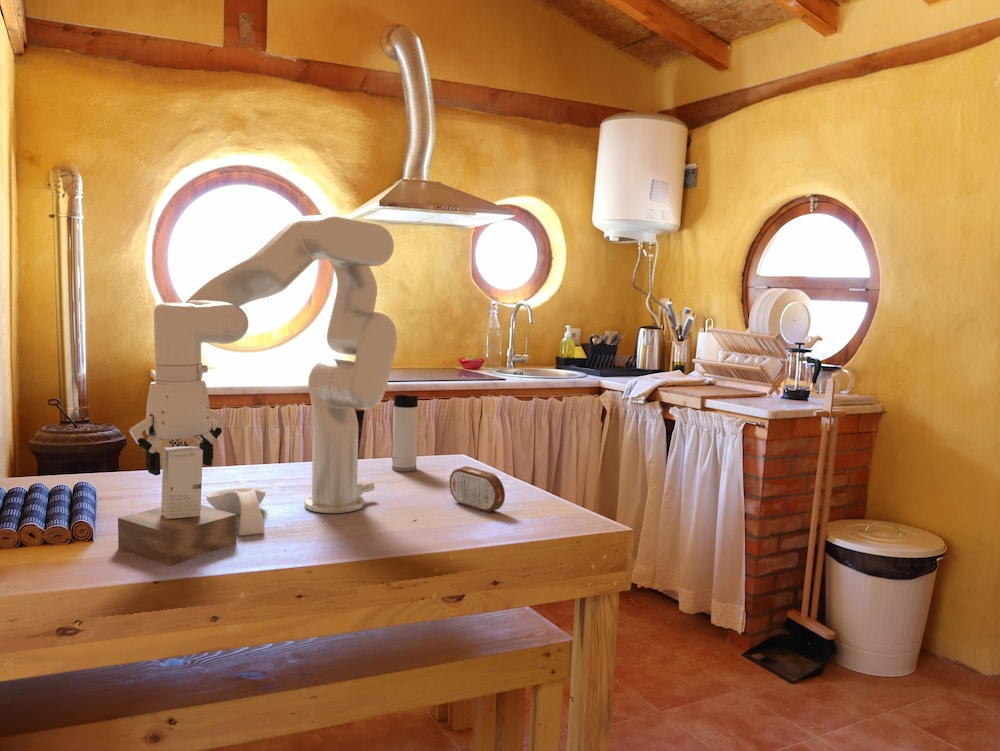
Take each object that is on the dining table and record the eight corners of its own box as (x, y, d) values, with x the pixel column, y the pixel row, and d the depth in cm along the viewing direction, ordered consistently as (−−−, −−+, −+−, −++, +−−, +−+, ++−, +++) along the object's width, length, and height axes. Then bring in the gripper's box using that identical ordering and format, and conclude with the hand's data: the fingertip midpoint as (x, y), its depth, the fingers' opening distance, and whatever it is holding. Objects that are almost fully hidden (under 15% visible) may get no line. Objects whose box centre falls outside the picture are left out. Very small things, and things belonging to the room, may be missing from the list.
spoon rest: (202, 506, 168) (201, 473, 167) (258, 501, 174) (258, 469, 173) (221, 540, 147) (221, 502, 147) (285, 532, 153) (285, 496, 152)
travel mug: (388, 471, 204) (390, 394, 202) (396, 465, 210) (397, 390, 208) (412, 473, 203) (414, 395, 201) (418, 467, 209) (421, 392, 207)
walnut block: (185, 531, 152) (185, 500, 151) (236, 546, 145) (236, 514, 144) (118, 550, 140) (117, 517, 139) (169, 568, 133) (169, 533, 132)
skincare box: (165, 520, 139) (166, 452, 137) (160, 513, 142) (161, 447, 141) (202, 516, 142) (203, 449, 141) (196, 509, 146) (197, 444, 145)
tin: (505, 513, 171) (506, 475, 170) (495, 516, 168) (496, 477, 167) (456, 499, 181) (457, 462, 180) (446, 501, 178) (447, 464, 177)
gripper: (212, 368, 148) (214, 458, 150) (119, 375, 135) (122, 473, 137) (234, 372, 143) (236, 465, 145) (139, 380, 130) (142, 482, 132)
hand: (180, 469), depth 141 cm, fingers open, 9 cm apart
